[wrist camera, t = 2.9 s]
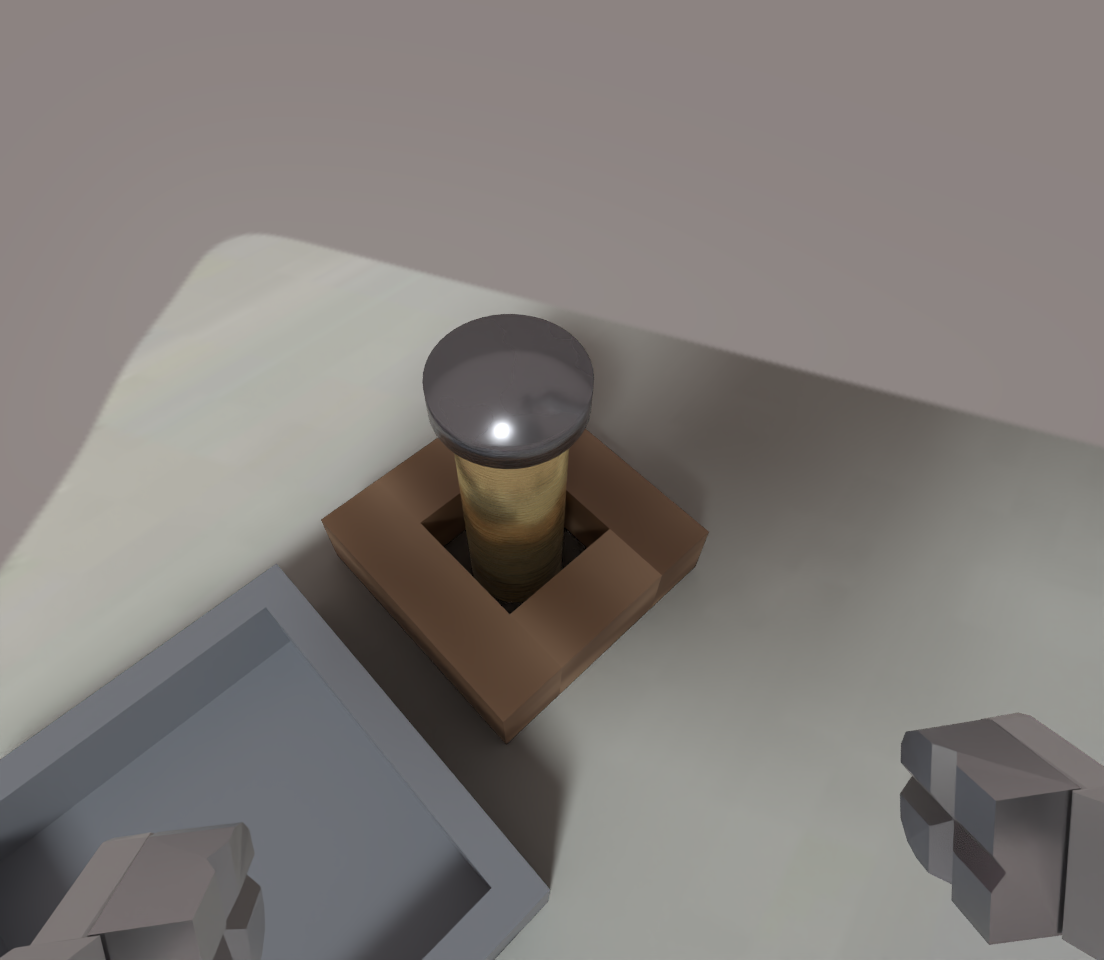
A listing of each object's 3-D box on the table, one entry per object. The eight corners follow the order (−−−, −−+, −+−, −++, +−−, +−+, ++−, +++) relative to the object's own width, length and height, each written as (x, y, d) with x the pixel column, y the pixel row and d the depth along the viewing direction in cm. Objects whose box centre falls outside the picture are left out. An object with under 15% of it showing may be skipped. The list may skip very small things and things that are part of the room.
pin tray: (305, 610, 26) (276, 563, 23) (548, 901, 21) (550, 889, 19) (-59, 883, 21) (-153, 868, 18) (150, 1330, 17) (70, 1404, 14)
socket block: (524, 418, 31) (523, 377, 29) (695, 566, 27) (708, 532, 25) (337, 555, 27) (321, 519, 25) (506, 744, 24) (503, 722, 22)
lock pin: (520, 490, 29) (514, 290, 20) (600, 563, 27) (629, 379, 19) (432, 558, 27) (387, 371, 19) (511, 640, 26) (501, 476, 17)
